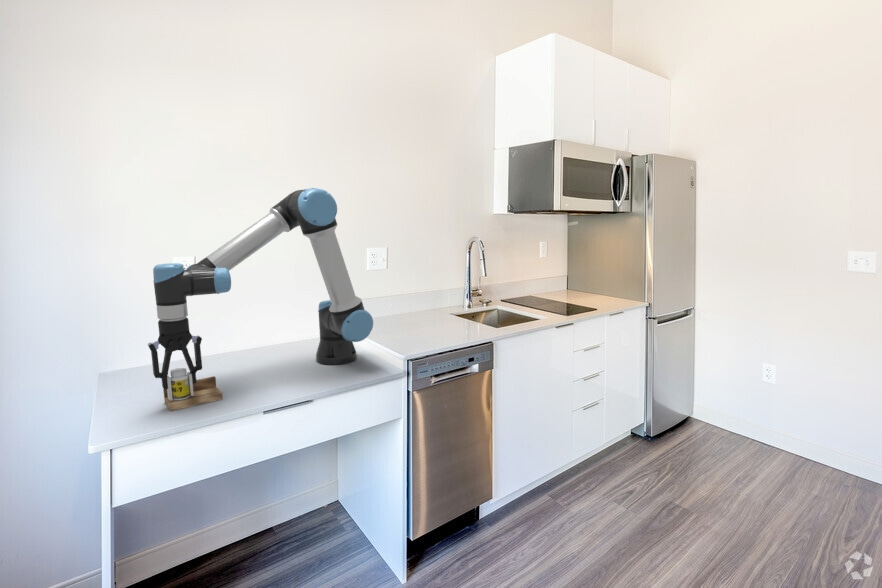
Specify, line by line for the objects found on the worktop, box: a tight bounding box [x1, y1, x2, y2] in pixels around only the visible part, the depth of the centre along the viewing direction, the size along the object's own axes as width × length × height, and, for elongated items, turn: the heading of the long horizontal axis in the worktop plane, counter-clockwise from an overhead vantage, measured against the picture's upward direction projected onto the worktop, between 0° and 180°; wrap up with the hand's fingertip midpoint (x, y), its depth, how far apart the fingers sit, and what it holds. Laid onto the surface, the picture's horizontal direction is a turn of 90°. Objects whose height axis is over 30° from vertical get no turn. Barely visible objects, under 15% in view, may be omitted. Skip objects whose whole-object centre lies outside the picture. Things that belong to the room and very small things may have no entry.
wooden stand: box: [162, 376, 224, 412], centre depth 141 cm, size 14×8×5 cm, turn 129°
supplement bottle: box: [169, 367, 190, 400], centre depth 137 cm, size 5×5×8 cm
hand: (180, 396), depth 138 cm, fingers closed on supplement bottle, 5 cm apart
